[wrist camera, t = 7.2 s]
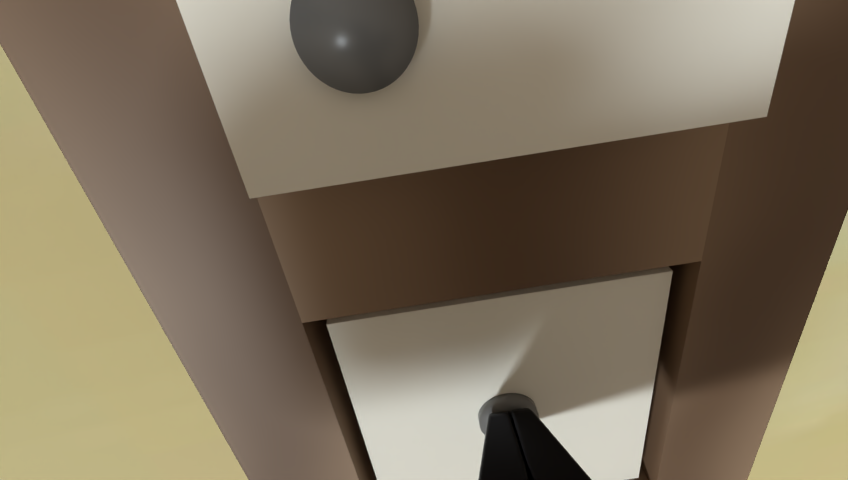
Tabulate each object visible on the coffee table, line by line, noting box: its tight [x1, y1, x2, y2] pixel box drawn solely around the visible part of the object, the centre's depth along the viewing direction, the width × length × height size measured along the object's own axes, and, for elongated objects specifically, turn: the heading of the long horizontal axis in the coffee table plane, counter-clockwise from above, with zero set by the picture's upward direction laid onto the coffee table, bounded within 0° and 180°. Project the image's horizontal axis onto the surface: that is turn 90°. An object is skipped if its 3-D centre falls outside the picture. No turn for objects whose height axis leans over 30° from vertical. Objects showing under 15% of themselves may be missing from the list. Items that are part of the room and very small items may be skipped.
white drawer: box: [326, 266, 673, 480], centre depth 10 cm, size 6×6×3 cm
